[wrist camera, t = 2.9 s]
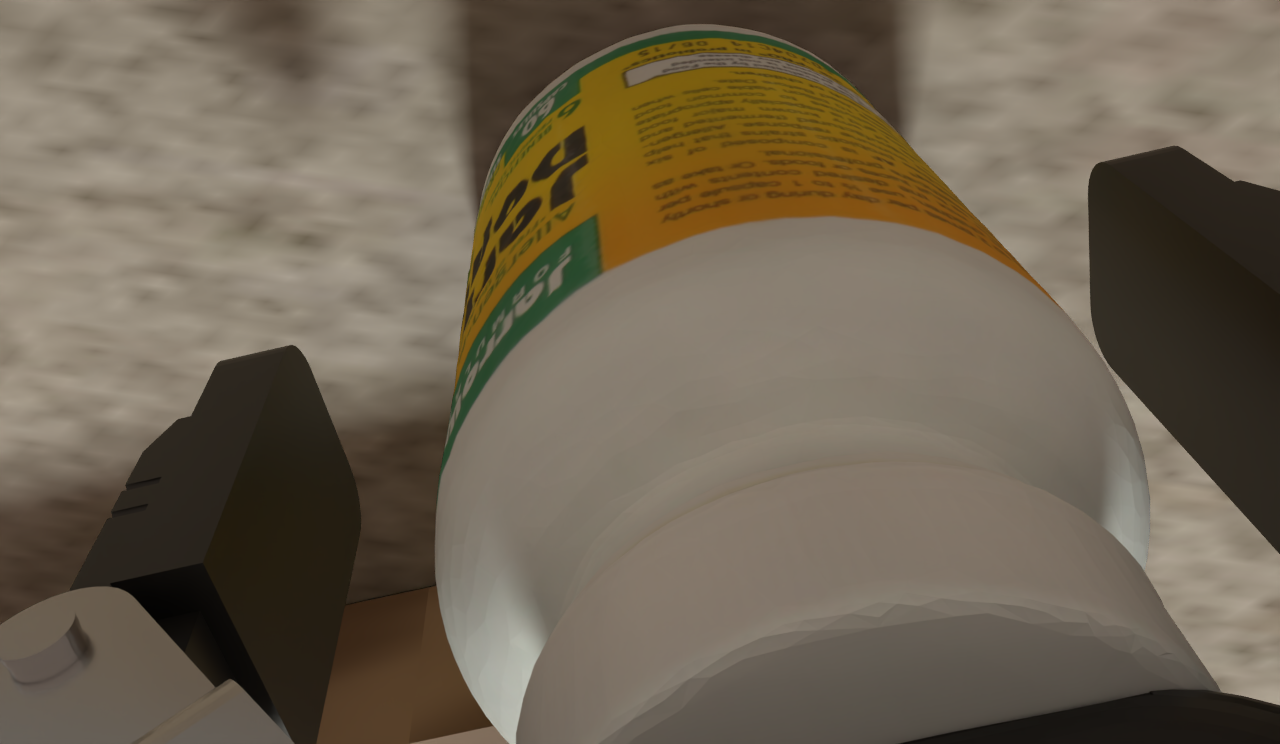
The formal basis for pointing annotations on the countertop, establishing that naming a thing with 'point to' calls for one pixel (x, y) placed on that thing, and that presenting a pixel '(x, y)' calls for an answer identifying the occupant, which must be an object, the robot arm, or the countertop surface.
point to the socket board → (399, 679)
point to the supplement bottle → (773, 430)
